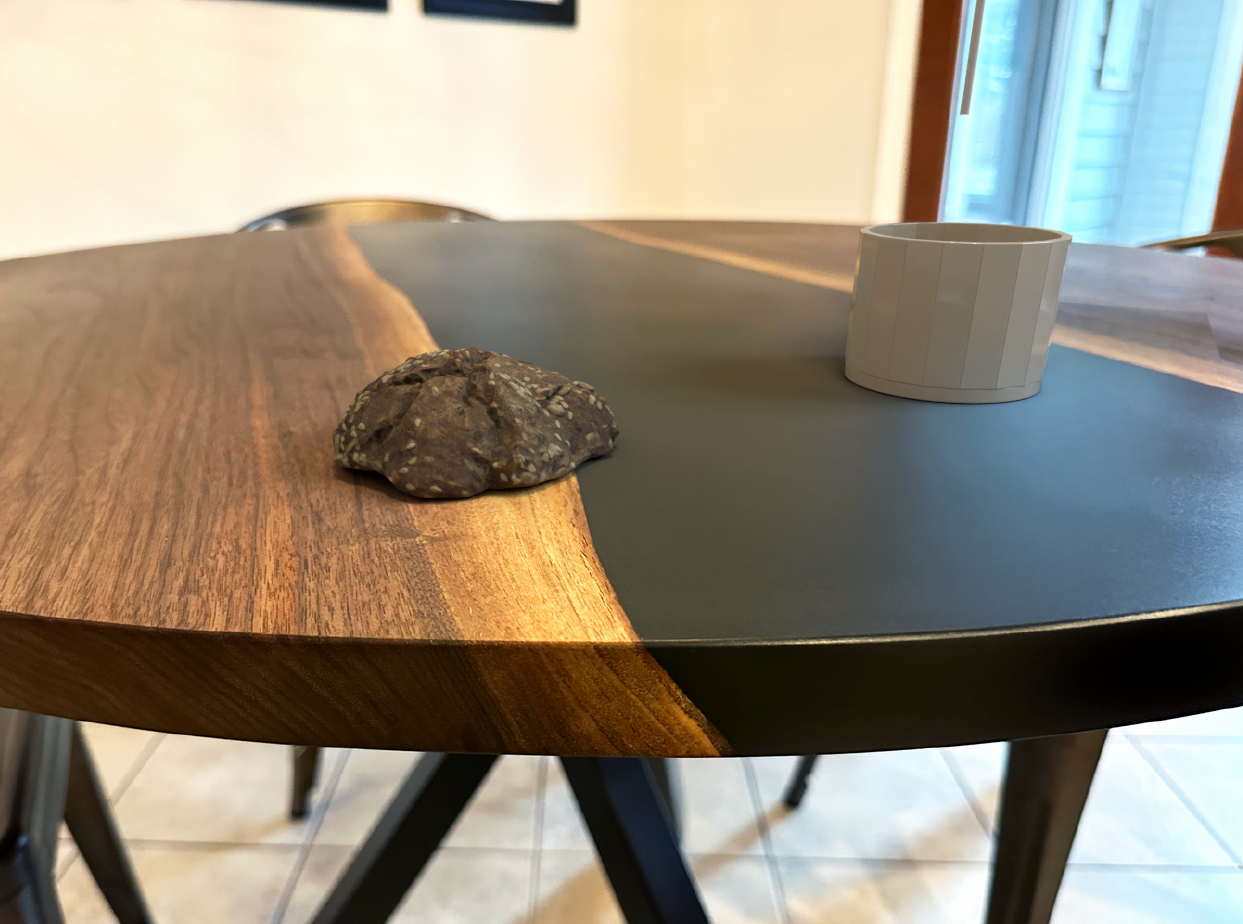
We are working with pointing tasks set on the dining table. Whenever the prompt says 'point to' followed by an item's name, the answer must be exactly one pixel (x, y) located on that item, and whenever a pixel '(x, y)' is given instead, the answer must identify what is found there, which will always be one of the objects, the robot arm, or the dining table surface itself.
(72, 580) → the dining table surface
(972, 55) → the lollipop
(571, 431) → the bread roll
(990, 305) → the white plant pot
